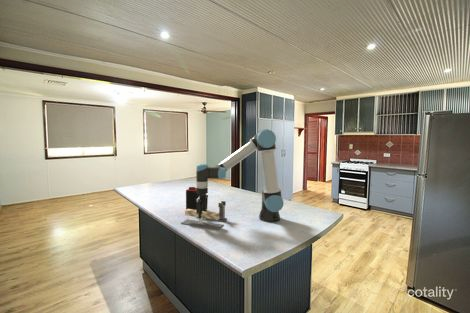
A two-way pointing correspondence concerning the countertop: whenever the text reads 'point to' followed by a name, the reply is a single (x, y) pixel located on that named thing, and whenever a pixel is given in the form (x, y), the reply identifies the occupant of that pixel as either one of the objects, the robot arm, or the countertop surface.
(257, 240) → the countertop surface
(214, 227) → the mat
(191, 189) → the red coffee machine
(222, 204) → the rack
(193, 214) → the rail
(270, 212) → the robot arm
